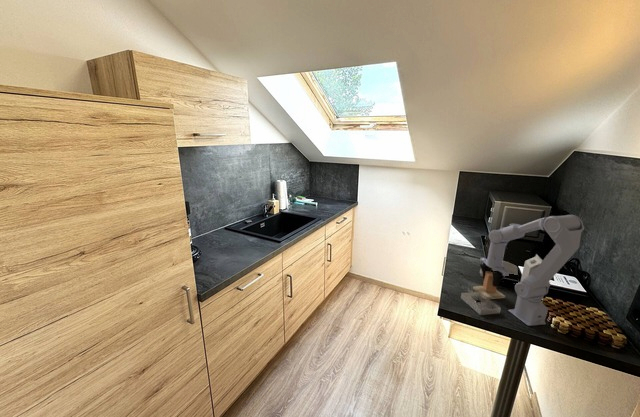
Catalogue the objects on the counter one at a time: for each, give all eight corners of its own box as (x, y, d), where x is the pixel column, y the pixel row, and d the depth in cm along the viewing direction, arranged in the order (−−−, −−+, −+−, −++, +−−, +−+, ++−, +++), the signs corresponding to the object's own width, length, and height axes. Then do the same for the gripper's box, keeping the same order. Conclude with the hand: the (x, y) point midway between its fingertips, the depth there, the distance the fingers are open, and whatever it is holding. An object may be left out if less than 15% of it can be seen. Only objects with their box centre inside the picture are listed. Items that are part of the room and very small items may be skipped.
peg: (495, 292, 119) (498, 276, 117) (485, 290, 120) (488, 275, 118) (492, 287, 123) (495, 272, 121) (482, 286, 124) (485, 271, 122)
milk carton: (536, 292, 123) (546, 255, 118) (542, 301, 117) (552, 262, 112) (518, 289, 126) (526, 252, 121) (523, 297, 119) (532, 259, 114)
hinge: (479, 276, 137) (482, 257, 138) (478, 275, 142) (481, 256, 142) (518, 284, 130) (521, 264, 131) (516, 282, 135) (518, 263, 135)
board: (504, 297, 119) (505, 295, 118) (486, 299, 117) (487, 297, 117) (489, 287, 127) (490, 285, 127) (472, 288, 126) (473, 286, 126)
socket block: (499, 313, 108) (501, 307, 107) (480, 315, 107) (481, 309, 106) (478, 296, 120) (479, 291, 119) (460, 297, 118) (461, 293, 118)
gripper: (517, 262, 111) (511, 290, 115) (491, 248, 125) (486, 274, 128) (502, 263, 110) (496, 291, 114) (477, 249, 124) (473, 275, 127)
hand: (490, 282), depth 121 cm, fingers closed on peg, 5 cm apart
